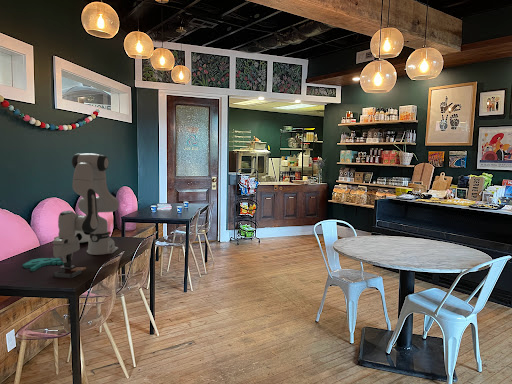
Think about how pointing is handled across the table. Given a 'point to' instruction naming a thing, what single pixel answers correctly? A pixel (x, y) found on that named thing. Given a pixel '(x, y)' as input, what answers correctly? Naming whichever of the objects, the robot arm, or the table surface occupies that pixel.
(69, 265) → the stepped dark grey block
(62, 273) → the bay
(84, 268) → the tile
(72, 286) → the table surface
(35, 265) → the teal pixel invader
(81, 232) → the milk container
